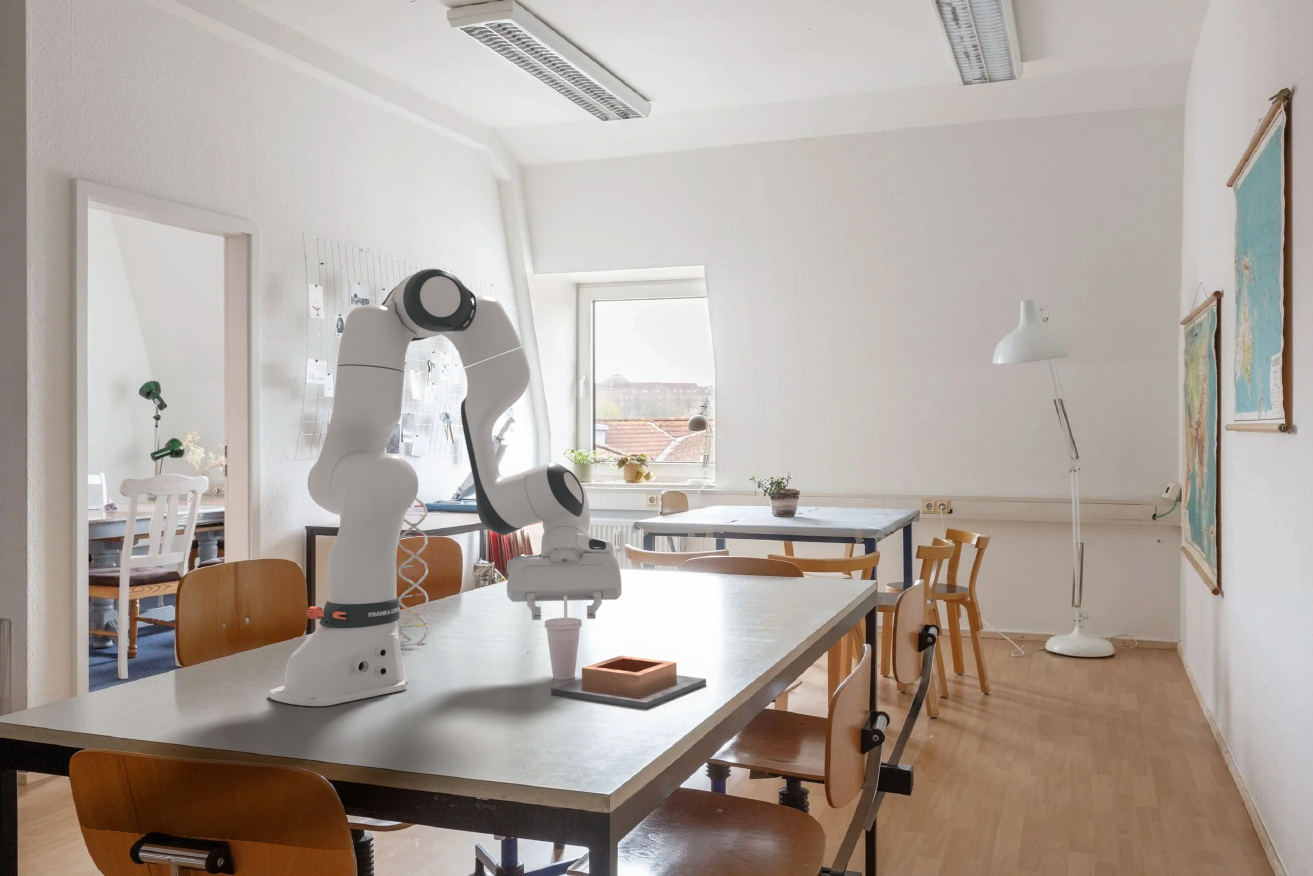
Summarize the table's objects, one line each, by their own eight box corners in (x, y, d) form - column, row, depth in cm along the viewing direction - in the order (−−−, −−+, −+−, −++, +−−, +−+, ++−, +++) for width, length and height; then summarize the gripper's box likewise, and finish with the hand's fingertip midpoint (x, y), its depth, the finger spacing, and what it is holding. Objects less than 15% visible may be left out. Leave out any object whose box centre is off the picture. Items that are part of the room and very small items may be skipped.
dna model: (433, 643, 211) (431, 494, 211) (401, 646, 208) (399, 495, 209) (425, 638, 217) (423, 493, 217) (394, 641, 214) (392, 494, 215)
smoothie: (567, 683, 175) (566, 599, 175) (537, 679, 179) (536, 596, 179) (590, 675, 181) (589, 594, 181) (560, 671, 184) (559, 591, 184)
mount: (645, 709, 157) (645, 682, 157) (551, 694, 167) (551, 669, 167) (706, 685, 172) (705, 660, 173) (616, 673, 182) (615, 650, 182)
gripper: (506, 544, 188) (501, 608, 178) (620, 542, 189) (622, 605, 179) (509, 566, 193) (504, 629, 183) (620, 564, 194) (622, 626, 184)
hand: (563, 617), depth 181 cm, fingers open, 8 cm apart
